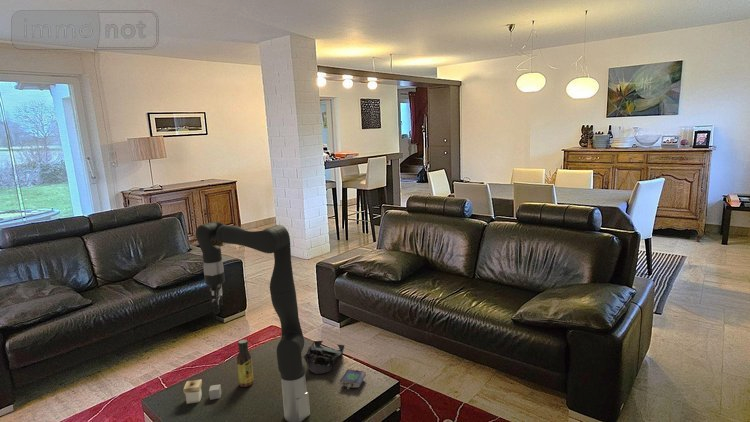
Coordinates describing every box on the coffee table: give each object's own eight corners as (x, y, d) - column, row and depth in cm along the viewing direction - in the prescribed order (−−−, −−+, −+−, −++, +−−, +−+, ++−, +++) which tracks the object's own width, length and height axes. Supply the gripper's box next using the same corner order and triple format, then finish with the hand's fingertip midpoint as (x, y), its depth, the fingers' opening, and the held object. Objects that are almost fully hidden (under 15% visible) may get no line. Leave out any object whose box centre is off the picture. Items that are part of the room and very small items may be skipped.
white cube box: (201, 395, 180) (200, 384, 180) (199, 402, 176) (198, 390, 175) (189, 397, 179) (188, 386, 179) (186, 404, 175) (185, 392, 174)
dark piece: (348, 356, 209) (347, 338, 207) (333, 377, 190) (332, 358, 188) (314, 352, 214) (313, 335, 212) (296, 373, 195) (295, 355, 193)
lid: (202, 383, 180) (201, 377, 180) (199, 391, 174) (198, 385, 174) (187, 385, 179) (186, 380, 179) (183, 393, 173) (183, 387, 173)
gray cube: (221, 392, 181) (220, 384, 181) (219, 398, 178) (218, 389, 177) (211, 394, 181) (210, 385, 180) (209, 399, 177) (208, 390, 176)
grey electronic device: (366, 371, 187) (358, 385, 177) (366, 377, 187) (358, 391, 177) (346, 368, 189) (337, 382, 179) (346, 374, 190) (337, 388, 180)
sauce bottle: (249, 388, 184) (245, 345, 181) (236, 387, 185) (231, 344, 182) (256, 380, 190) (252, 338, 187) (243, 379, 191) (239, 338, 188)
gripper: (207, 268, 177) (211, 304, 180) (200, 277, 164) (205, 317, 166) (226, 266, 179) (230, 302, 181) (221, 275, 165) (225, 315, 167)
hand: (218, 309), depth 174 cm, fingers open, 8 cm apart
